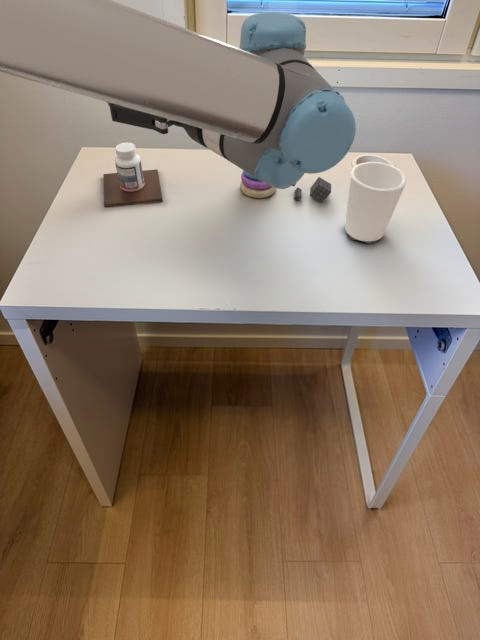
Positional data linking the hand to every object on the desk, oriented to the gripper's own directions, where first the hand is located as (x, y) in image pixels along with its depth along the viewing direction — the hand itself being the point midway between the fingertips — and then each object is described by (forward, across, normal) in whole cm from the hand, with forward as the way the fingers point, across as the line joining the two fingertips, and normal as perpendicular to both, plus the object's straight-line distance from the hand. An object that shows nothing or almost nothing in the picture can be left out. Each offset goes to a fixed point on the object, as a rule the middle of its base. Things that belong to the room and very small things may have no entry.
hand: (138, 80), depth 79 cm
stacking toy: (-9, +21, -25) cm, 34 cm away
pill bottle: (+9, 0, -24) cm, 26 cm away
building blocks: (-18, +27, -25) cm, 41 cm away
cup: (-34, +26, -25) cm, 50 cm away
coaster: (+9, 0, -25) cm, 26 cm away
